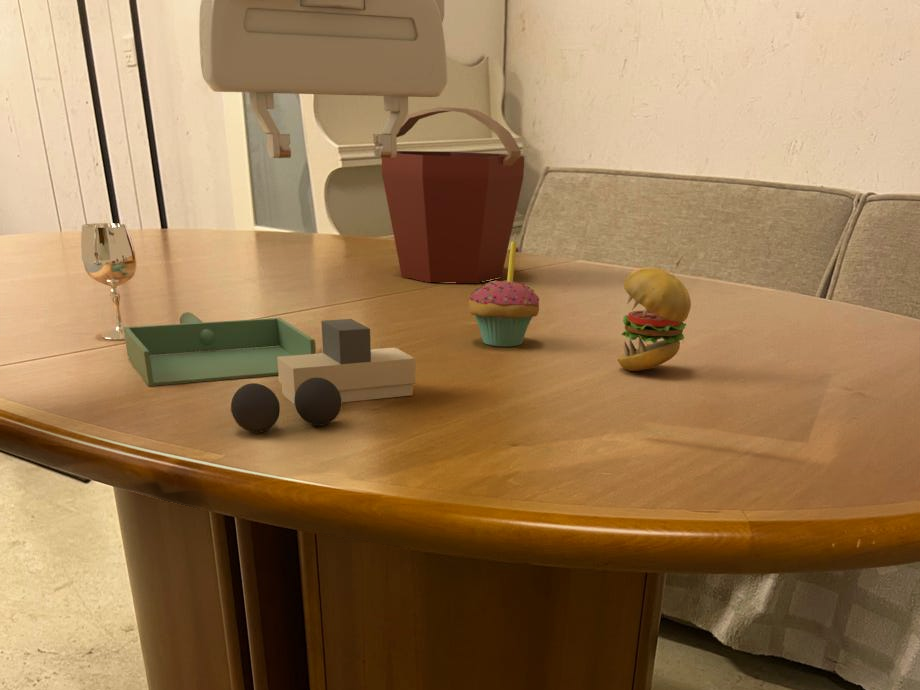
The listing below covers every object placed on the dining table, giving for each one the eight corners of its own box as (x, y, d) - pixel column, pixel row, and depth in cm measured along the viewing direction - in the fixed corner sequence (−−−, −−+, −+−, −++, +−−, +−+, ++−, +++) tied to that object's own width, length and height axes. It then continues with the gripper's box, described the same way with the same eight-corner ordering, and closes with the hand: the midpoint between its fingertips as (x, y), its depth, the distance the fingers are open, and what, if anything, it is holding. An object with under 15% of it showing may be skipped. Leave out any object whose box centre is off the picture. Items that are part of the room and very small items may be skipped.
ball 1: (254, 441, 76) (249, 392, 74) (223, 431, 78) (218, 384, 76) (291, 431, 79) (288, 384, 77) (260, 421, 81) (256, 375, 79)
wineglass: (85, 336, 109) (65, 224, 103) (126, 329, 113) (110, 221, 107) (116, 343, 106) (97, 229, 100) (157, 335, 110) (142, 225, 104)
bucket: (357, 271, 159) (351, 104, 147) (453, 262, 173) (455, 108, 160) (451, 291, 144) (453, 106, 132) (549, 280, 157) (559, 110, 145)
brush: (415, 396, 90) (415, 325, 86) (295, 408, 85) (290, 333, 82) (395, 383, 94) (394, 315, 90) (280, 394, 89) (274, 323, 85)
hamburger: (625, 360, 106) (637, 247, 100) (687, 368, 103) (703, 252, 97) (606, 374, 99) (618, 255, 94) (673, 383, 97) (689, 260, 91)
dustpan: (316, 371, 97) (314, 339, 95) (148, 386, 90) (143, 351, 88) (258, 330, 114) (256, 302, 113) (114, 340, 107) (109, 310, 106)
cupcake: (487, 333, 117) (490, 229, 111) (549, 341, 114) (555, 235, 108) (455, 345, 110) (457, 236, 104) (520, 354, 107) (526, 242, 101)
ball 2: (318, 434, 78) (315, 386, 76) (286, 424, 80) (282, 378, 78) (351, 424, 81) (350, 378, 79) (320, 415, 83) (317, 370, 81)
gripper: (427, -28, 79) (429, 155, 85) (182, -49, 70) (206, 156, 77) (460, -37, 74) (459, 158, 81) (201, -60, 65) (224, 159, 72)
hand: (333, 157), depth 79 cm, fingers open, 8 cm apart
